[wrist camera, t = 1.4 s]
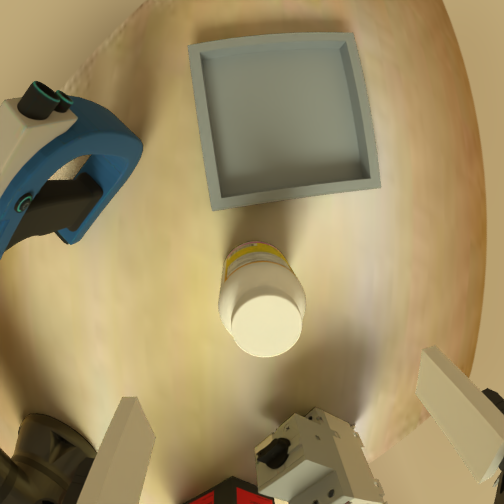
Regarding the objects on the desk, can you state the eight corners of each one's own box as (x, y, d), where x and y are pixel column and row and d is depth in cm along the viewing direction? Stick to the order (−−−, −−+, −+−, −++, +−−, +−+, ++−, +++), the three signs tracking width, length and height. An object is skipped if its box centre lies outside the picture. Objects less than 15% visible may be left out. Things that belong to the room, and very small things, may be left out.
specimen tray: (214, 207, 31) (212, 211, 28) (191, 56, 27) (187, 45, 24) (369, 186, 31) (381, 187, 28) (343, 43, 27) (353, 33, 25)
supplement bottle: (272, 309, 34) (291, 380, 21) (213, 289, 33) (202, 354, 21) (297, 252, 33) (333, 299, 20) (236, 229, 32) (236, 265, 19)
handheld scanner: (43, 230, 30) (-83, 287, 12) (129, 116, 28) (12, 62, 9) (68, 257, 31) (-49, 337, 12) (159, 144, 29) (60, 112, 10)
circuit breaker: (279, 387, 36) (299, 483, 22) (354, 425, 39) (389, 504, 24) (242, 422, 38) (246, 515, 23) (319, 455, 40) (341, 533, 26)
